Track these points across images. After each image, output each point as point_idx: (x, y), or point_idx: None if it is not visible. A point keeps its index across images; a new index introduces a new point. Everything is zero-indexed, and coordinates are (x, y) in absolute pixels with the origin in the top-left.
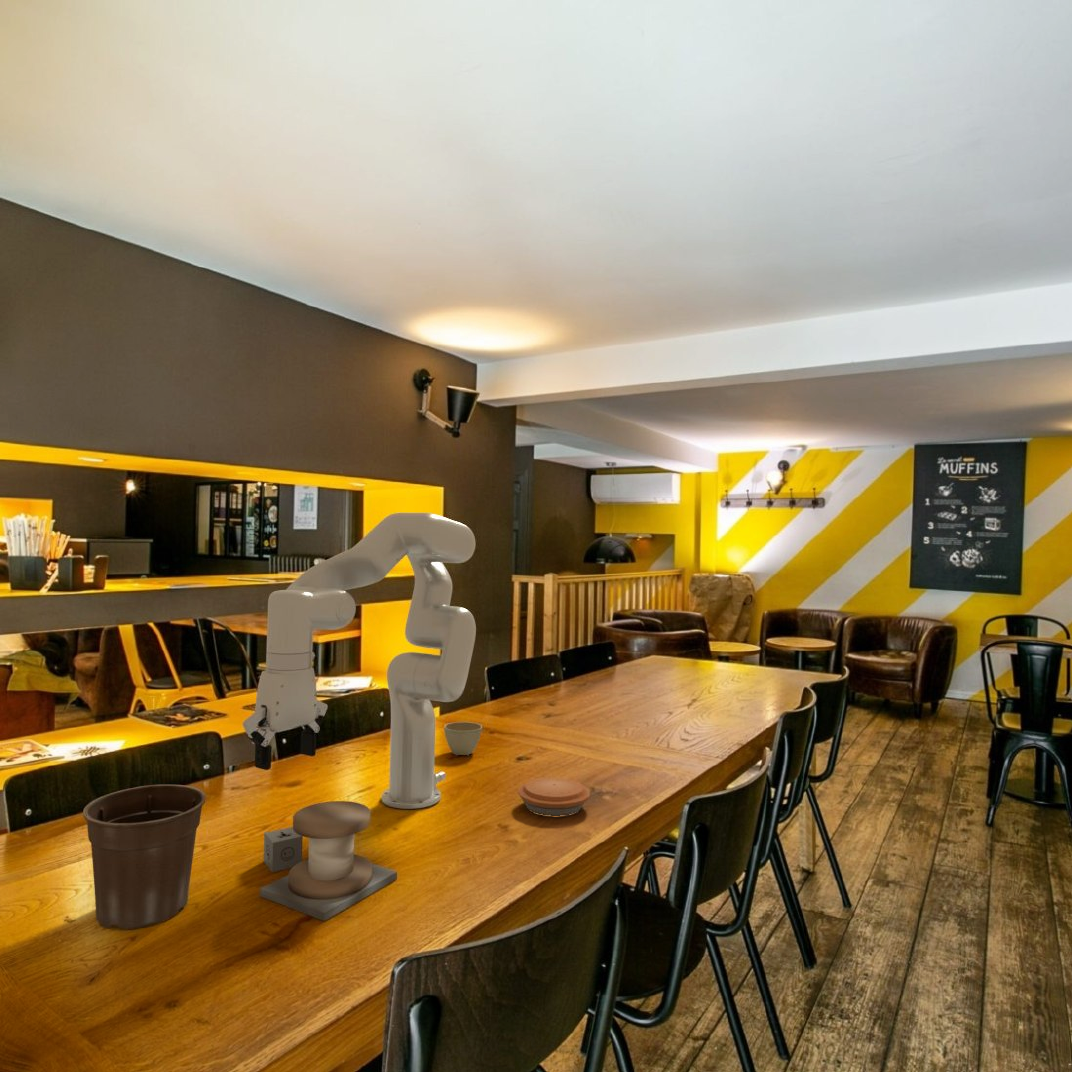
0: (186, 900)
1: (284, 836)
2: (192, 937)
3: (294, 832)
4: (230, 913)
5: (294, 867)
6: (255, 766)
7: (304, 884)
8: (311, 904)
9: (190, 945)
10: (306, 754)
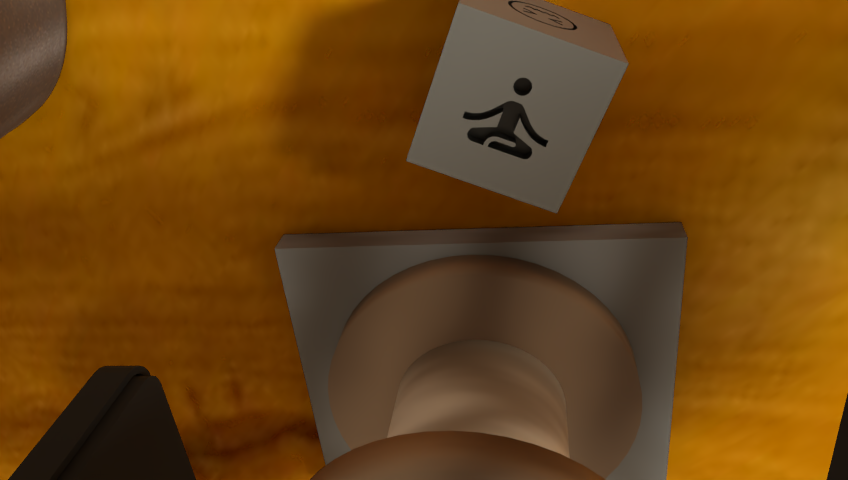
0: (39, 102)
1: (497, 140)
2: (27, 276)
3: (566, 142)
4: (160, 250)
5: (408, 294)
6: (108, 367)
7: (350, 408)
8: (334, 439)
9: (13, 304)
10: (834, 461)
